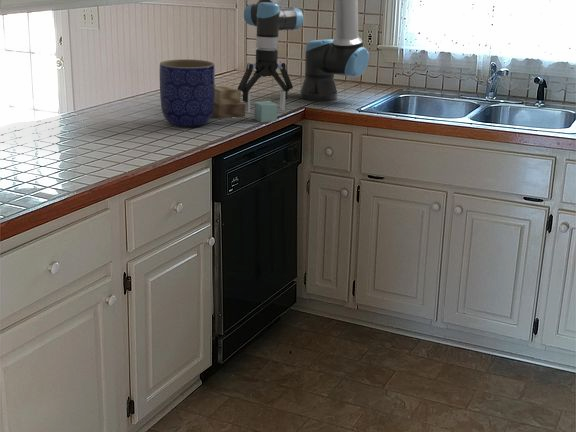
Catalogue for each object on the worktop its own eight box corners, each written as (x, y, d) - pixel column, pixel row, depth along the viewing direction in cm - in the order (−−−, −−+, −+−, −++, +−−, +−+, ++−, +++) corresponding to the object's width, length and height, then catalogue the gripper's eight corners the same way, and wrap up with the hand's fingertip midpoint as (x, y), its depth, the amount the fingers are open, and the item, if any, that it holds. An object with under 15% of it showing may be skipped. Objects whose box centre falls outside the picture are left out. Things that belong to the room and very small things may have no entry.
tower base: (233, 112, 300) (233, 98, 298) (244, 117, 292) (244, 103, 290) (208, 113, 296) (208, 100, 294) (218, 119, 287) (218, 105, 286)
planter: (200, 132, 267) (199, 69, 260) (150, 126, 273) (149, 64, 266) (223, 121, 284) (223, 61, 277) (176, 116, 289) (175, 57, 283)
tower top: (231, 99, 298) (231, 85, 296) (240, 103, 291) (240, 89, 289) (211, 100, 294) (210, 86, 292) (219, 104, 287) (219, 90, 286)
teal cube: (269, 117, 292) (269, 101, 290) (276, 121, 287) (277, 104, 285) (254, 118, 289) (254, 102, 287) (261, 122, 284) (261, 105, 282)
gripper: (294, 46, 288) (291, 106, 295) (229, 48, 277) (228, 109, 284) (304, 49, 282) (301, 110, 289) (238, 51, 271) (236, 113, 278)
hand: (264, 110), depth 287 cm, fingers open, 13 cm apart
